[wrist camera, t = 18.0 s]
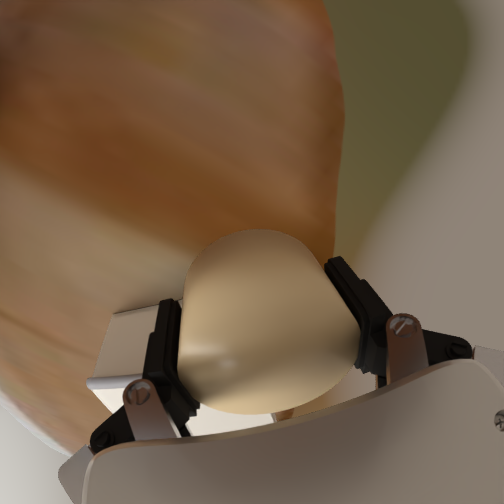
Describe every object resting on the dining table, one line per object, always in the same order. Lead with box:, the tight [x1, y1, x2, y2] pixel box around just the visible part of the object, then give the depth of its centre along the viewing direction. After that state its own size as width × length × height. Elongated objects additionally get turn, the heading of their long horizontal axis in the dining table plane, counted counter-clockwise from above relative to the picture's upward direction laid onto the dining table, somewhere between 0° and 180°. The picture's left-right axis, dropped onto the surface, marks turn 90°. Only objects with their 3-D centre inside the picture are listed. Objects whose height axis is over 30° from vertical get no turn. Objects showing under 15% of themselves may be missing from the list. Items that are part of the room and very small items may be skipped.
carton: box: [92, 299, 277, 422], centre depth 30 cm, size 18×16×10 cm
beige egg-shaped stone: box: [177, 229, 361, 415], centre depth 11 cm, size 6×6×4 cm
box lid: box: [86, 373, 275, 436], centre depth 24 cm, size 19×16×1 cm
